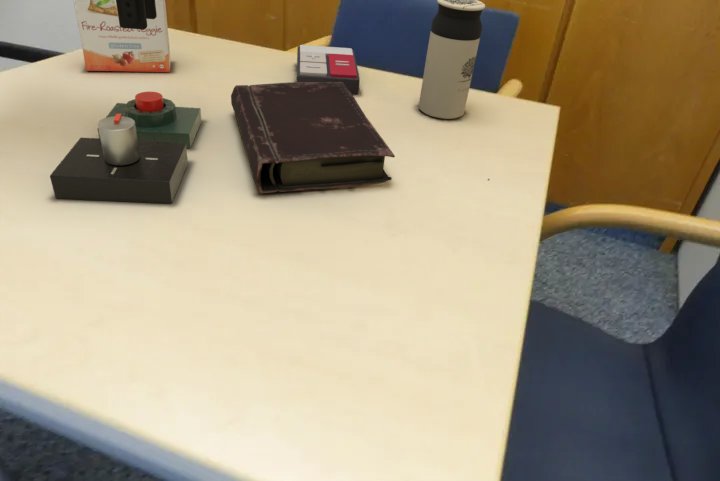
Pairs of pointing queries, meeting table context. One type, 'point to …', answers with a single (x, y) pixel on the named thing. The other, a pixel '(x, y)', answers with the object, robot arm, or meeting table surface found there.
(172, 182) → the knob base
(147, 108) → the button
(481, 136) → the meeting table surface
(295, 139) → the diary
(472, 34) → the travel mug
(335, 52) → the calculator
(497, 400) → the meeting table surface
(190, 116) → the button base
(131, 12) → the robot arm
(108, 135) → the hob knob
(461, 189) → the meeting table surface
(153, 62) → the cracker box
